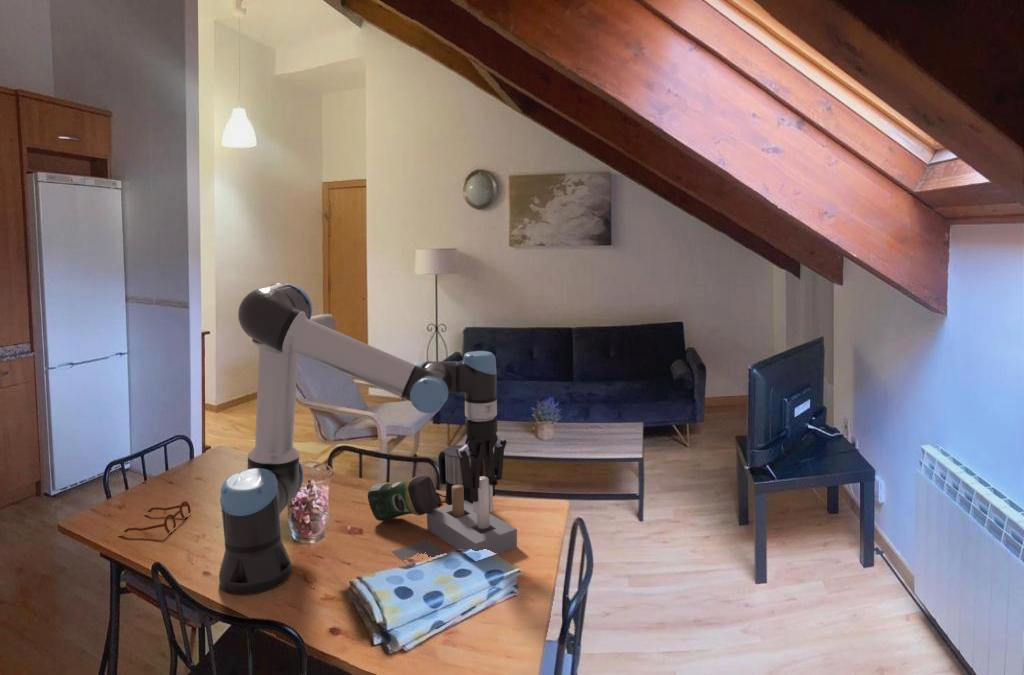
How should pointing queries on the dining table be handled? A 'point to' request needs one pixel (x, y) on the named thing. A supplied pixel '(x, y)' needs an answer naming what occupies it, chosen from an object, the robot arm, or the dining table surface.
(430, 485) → the coffee jar
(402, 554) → the mat
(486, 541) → the block
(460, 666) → the dining table surface
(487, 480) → the peg
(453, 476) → the milk frother
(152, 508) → the glasses
